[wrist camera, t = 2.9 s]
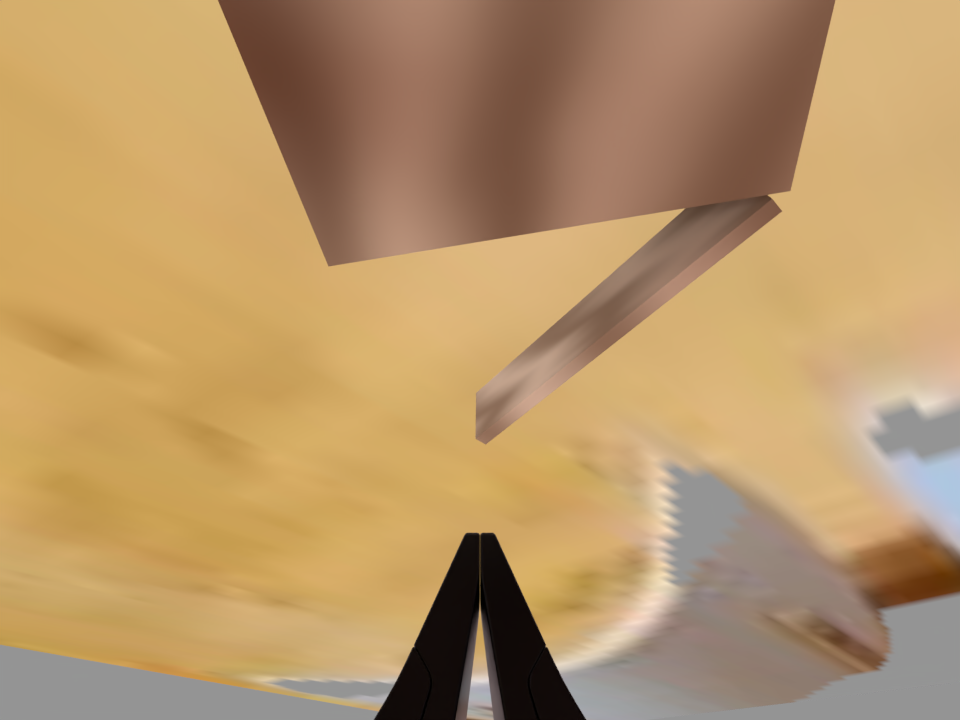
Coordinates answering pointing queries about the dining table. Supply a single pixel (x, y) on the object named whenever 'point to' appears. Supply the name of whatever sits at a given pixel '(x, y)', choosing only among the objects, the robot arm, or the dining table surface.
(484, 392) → the flap
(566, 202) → the brown piece
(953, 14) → the dining table surface
